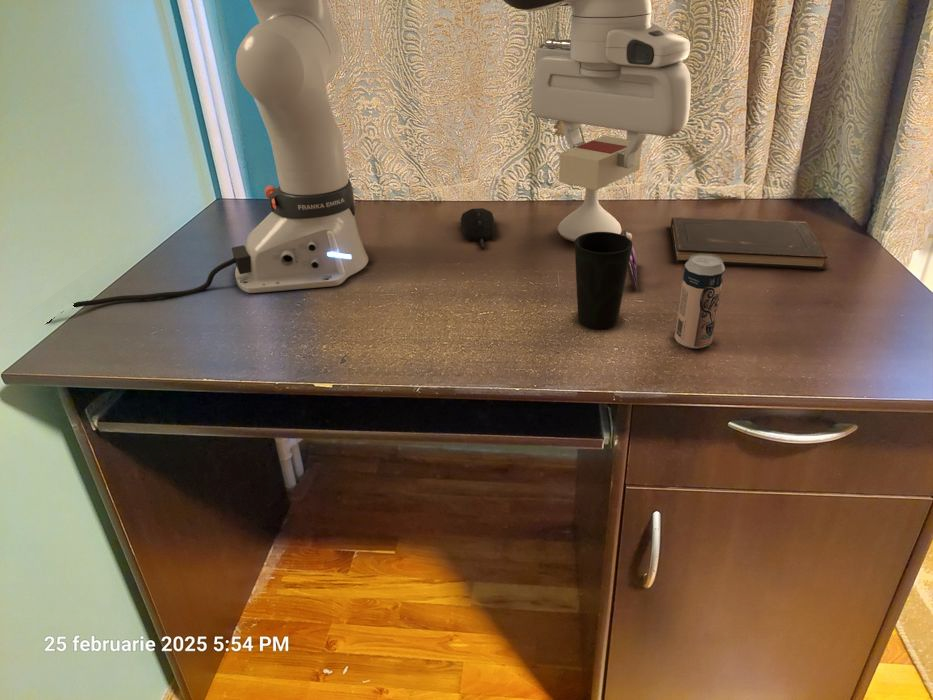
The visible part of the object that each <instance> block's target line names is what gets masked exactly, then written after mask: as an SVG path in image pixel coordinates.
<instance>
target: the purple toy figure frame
mask: <svg viewBox="0 0 933 700" xmlns="http://www.w3.org/2000/svg"><path fill="white" fill-rule="evenodd" d="M623 236H626V237H627V238H629V239H630V240H631V241H632V238H633V235H632V233H630V232H628V231H627V229H625V230H623ZM636 257H637V256H636V252H635V249H634V245H633V246H632V251H631V256H630V261H629V266H628V273H629V276H630V280H631V284H632V287H633V290H634V291H637V290H638V278H637V277H638V274H637V270H638V269H637V268H638V267H637V258H636Z"/></svg>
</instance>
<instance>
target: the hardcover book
mask: <svg viewBox="0 0 933 700" xmlns="http://www.w3.org/2000/svg"><path fill="white" fill-rule="evenodd" d="M670 231H671V232H670V233H671V239H672V240H671V241H672V247H673V254H674V255H673V256H674V262H675V263H682V264H684V263H685V264H686V262H688V261H689V259H690V257H691V256H692V255H695V254H700V253H701V254H712V255H715V256H718V257H719V258H720V259H721V260H722V261H723V264H724V266H726V265H727V266H741V267H743V266H744V267H760V268H761V267H763V268H783V269H801V270H802V269H805V270H825V266H824V264H825V259H828V255H827V253H826V252H825V250H824V249H823V247H822V245H821V244H820V242H819V240H818V239H817V237H816V236H815V233H814V232H813V230H812V229H811V227H810V226H809V224H808V222H807V221H800V220H799V221H798V220H774V219H773V220H770V219H744V218H743V219H742V218H719V217H718V218H715V217H714V218H713V217H690V216H689V217H688V216H671V222H670Z"/></svg>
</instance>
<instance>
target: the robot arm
mask: <svg viewBox="0 0 933 700" xmlns="http://www.w3.org/2000/svg"><path fill="white" fill-rule="evenodd" d="M502 1H503V2H504V3H505V4H506V5H508V6H510V7H511V8H514V9H517V10H521V11H526V12H537V11H544V10H550V9H553V8H556V7H570V8H571V16H570V17H571V20H570V38H569V39H557V38H545V40H544V42H543V41H542V42H541V43H540V44H539V45H538V47H537V49H536V50H535V58H534V59H535V60H534V63H535V65H534V67H535V69H534V73H533V79H532V87H531V88H532V89H531V97H530V109H531V111H532V113H533V115H534V116H535V118H539V119H546V120H552V121H563V132H564V134H565V136H564V137H565V138H566V140H567V142H568V144H569V149H572V148H574V147H577V146H579V145H582V144H584V142H583V140H582V136H581V133H580V130H579V128H580V127H581V128H582V125H586V126H592V127H599V128H606V129H613V130H618V131H619V130H620V131H626V139H627V140H631V141H630V143H629V145H628V146H627V148H626V150H623V151H621V152H619V153H618V158H617V159H618V161H617V166H618V167H623V168H630V167H632V166H633V165H634V162H635V152H636V151H637V150H638V148H639V147H640V145H641V144H642V145H643V142H644V141H645V139H646V136H647V135H651V136H660V137H665V138H667V137H671V136H674V135H676V134H678V133H680V132H681V131H683V129H684V128H685V127H686V126H687V124H688V122H689V117H690V110H691V97H692V96H691V94H692V93H691V92H692V80H691V73H690V70H689V68H688V67H687V65H686V64H685V63H684V62H682V61H684V60H686V59H688V57H689V55H690V51H691V42H690V40H689V39H688V38H686V37H683V36H681V35H679V34H677V33H675V32H672V31H670V30H667V29H665V28H664V27H662V26H660V25H658V24H655V23H654V22H651V20H652V2H651V0H502ZM249 2H250V5H251V7H252V9H253V11H254V13H255V16H256V18H257V21H258V23H257V24H256V25H254V26H253V27H252V28H251V29H250V30H249V31H248V33H246V34H245V36H244V38H243V39H242V41H241V42H240V44H239V46H238V48H237V51H236V56H235V68H236V72H237V75H238V78H239V80H240V82H241V84H242V86H243V88H244V89H245V91H247V92H248V93H249V94H250V95H251V96H252V97H253V99H254V102H255V105H256V108H257V109H258V112H259V114H260V117H261V119H262V122H263V124H264V127H265V129H266V131H267V135H268V137H269V141H270V144H271V150H272V154H273V159H274V164H275V168H276V174H277V180H278V185H279V186H278V187H275V186H274V185H267V186H266V187H265V189H264V195H265V198H266V199H267V200H269V201H268V202H269V207H270V210H271V212H270V213H269V214H268V215H266V217H265V218H264V219H262V221H261V222H260V223H258V224H257V225H256V226H255V227H254V228H253V229H252V230H251V231H250V232H249V233H248V236H247V238H246V241H245V245H238V246H233V247H231V252H232V256H233V258H230V259H229V260H226V261H224V262H223V263H221V264H219V265H217V266H215V267H214V268H213V269H212V270H211V271H210V272H209V274H208V275H207V279H206V281H205V283H203V284H202V285H200V286H197V287H195V288H192V289H188V290H179V291H178V290H177V291H166V292H165V291H164V292H156V293H155V292H154V293H147V294H132V295H131V294H128V295H127V294H126V295H116V296H109V297H104V298H98V299H89V300H80V301H75V302H76V303H74V302H73V303H74V305H73V306H74V307H76V308H81V307H82V308H83V307H89V306H98V305H103V304H110V303H115V302H125V301H126V302H127V301H144V300H145V301H146V300H154V299H163V298H176V297H177V298H178V297H183V296H189V295H193V294H197V293H200V292H203V291H205V290H206V289H208V288H209V287H211V285H212V283H213V281H214V278H215V276H216V275H217V274H218V273H219V272H221V271H223V270H224V269H226V268H228V267H230V266H232V265H234V264H235V266H236V267H235V269H234V270H235V271H234V275H235V282H236V284H237V287H238V288H239V289H240V290H241V291H243V292H245V293H248V294H257V293H258V294H259V293H270V292H282V291H292V290H293V291H295V290H305V289H316V288H317V289H318V288H327V287H336V286H339V285H341V284H343V283H344V282H345V281H346V280H347V279H348V278H349V277H351V276H353V275H355V274H357V273H358V272H361V270H363V269H364V268H366V266H367V264H368V263H369V255H368V254H367V252H366V249H365V247H364V244H363V242H362V239H361V235H360V233H359V229H358V225H357V221H356V217H355V216H356V202H355V201H356V200H355V194H354V187H353V184H352V182H351V180H350V178H349V174H348V167H347V166H348V165H347V158H346V151H345V146H344V137H343V132H342V130H341V128H340V127H339V126H338V123H337V121H336V118H335V115H334V111H333V109H332V106H331V102H330V99H329V95H328V89H327V83H328V82H329V81H331V80H332V79H333V77H334V76H335V75H336V73H337V72H338V69H339V67H340V64H341V61H342V56H343V55H342V54H343V45H342V43H343V42H342V39H341V36H340V34H339V32H338V30H337V28H336V27H335V24H334V21H333V18H332V15H331V12H330V8H329V5H328V2H327V0H249ZM62 313H63V312H61V313H60V314H62ZM55 318H56V317H54V318H53V319H51V320H50V321H49V322H47V323H46V324H45V325H49V324H51V322H52V321H53V320H54V319H55Z"/></svg>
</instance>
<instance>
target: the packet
mask: <svg viewBox="0 0 933 700" xmlns="http://www.w3.org/2000/svg"><path fill="white" fill-rule="evenodd" d="M630 141H631V140H627V138H623V137H622V138H621V137H615V136H611V135H609V136H608V135H602V136H600V137H597V138H594V139H592V140H590V141H586V142H585V143H584V144H582V145H579V146H577V147H574V148H572V149H570V148H569V149H567V150H564V151H562V152H560V153H559V165H558V166H559V167H558V182H559V183H561V184H566V185H571V186H575V187H576V186H577V187H581V188H585V189H586V188H589V189H594V190H598V191H599V190H601V189H603V188H605V187H606V186H608V185H611V184H613V183H615V182H617V181H619V180H621V179H623V178H625V177H627V176H630V175H631V174H633V173H635V172H638V171H640V164H641V157H642V147H643V146H642V145H643V143H642V144H641V145H640V147H639V148H638V150H637V151H636V152H635V162H634V165H633V166H632V167H630V168H623V167H618V166H617V161H618V159H617V158H618V153H619V152H621V151H623V150H626V148H627V146H628V145H629V143H630Z"/></svg>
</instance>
